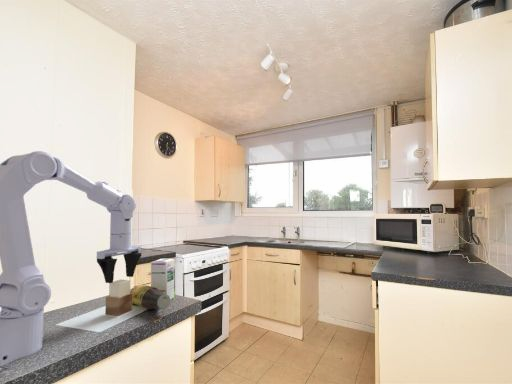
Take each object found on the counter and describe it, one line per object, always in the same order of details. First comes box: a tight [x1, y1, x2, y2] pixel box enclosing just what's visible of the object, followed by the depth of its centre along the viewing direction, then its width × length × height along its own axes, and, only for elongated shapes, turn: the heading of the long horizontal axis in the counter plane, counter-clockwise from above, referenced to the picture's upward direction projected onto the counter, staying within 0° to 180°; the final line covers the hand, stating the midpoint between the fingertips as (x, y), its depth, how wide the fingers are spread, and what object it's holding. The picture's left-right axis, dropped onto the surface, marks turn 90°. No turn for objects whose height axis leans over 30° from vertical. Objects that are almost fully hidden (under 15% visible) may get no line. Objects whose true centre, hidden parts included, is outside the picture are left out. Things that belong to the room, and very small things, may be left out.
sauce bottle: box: [130, 284, 171, 310], centre depth 83 cm, size 7×6×20 cm
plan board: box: [55, 304, 149, 333], centre depth 76 cm, size 18×16×1 cm
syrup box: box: [150, 257, 176, 303], centre depth 89 cm, size 6×6×14 cm
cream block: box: [108, 279, 131, 298], centre depth 79 cm, size 4×4×4 cm
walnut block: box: [105, 293, 133, 316], centre depth 79 cm, size 5×5×5 cm
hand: (120, 279), depth 80 cm, fingers open, 7 cm apart
